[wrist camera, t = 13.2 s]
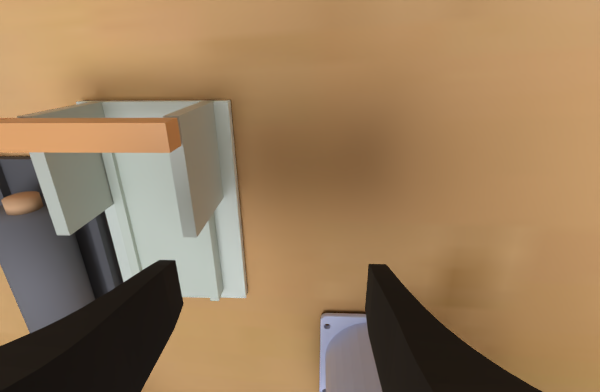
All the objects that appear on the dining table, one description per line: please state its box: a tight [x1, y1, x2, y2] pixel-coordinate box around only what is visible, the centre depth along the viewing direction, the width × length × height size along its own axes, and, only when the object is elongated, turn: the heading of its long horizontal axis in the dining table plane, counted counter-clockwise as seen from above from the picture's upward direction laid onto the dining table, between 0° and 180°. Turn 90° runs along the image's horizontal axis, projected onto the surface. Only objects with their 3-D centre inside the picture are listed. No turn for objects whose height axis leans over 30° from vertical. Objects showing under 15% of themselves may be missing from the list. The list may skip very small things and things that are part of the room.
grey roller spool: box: [0, 191, 95, 333], centre depth 22 cm, size 11×4×4 cm, turn 1°
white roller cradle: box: [17, 100, 248, 301], centre depth 20 cm, size 14×9×6 cm, turn 1°
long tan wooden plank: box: [0, 118, 181, 153], centre depth 14 cm, size 1×9×1 cm, turn 91°
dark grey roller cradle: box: [0, 157, 123, 300], centre depth 23 cm, size 12×6×1 cm, turn 1°
